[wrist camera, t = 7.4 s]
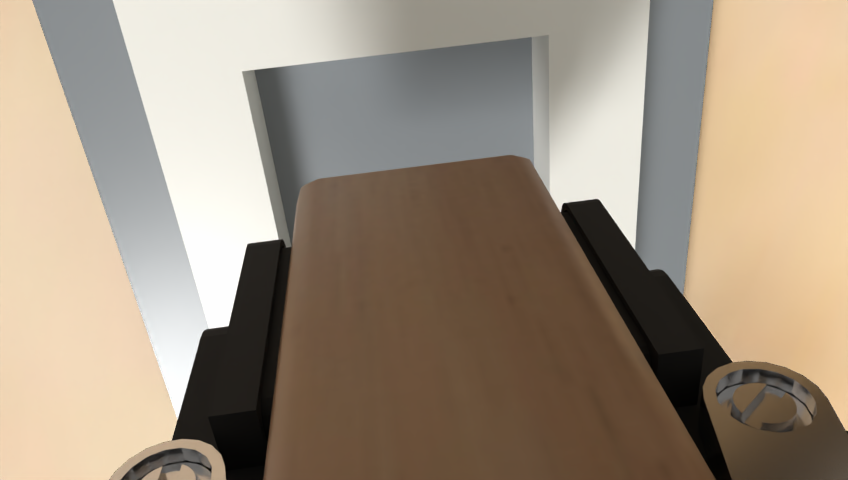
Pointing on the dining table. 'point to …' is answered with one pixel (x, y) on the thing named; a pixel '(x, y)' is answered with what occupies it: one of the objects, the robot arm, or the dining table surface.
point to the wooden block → (458, 340)
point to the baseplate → (364, 120)
